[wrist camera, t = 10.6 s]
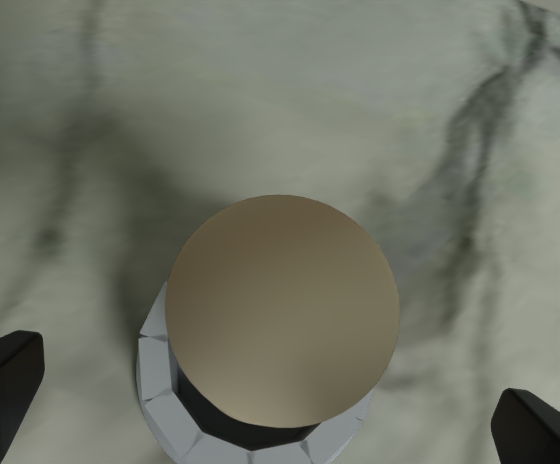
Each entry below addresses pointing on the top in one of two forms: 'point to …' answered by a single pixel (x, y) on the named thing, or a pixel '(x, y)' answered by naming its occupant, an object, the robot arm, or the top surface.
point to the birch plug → (282, 311)
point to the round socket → (222, 414)
